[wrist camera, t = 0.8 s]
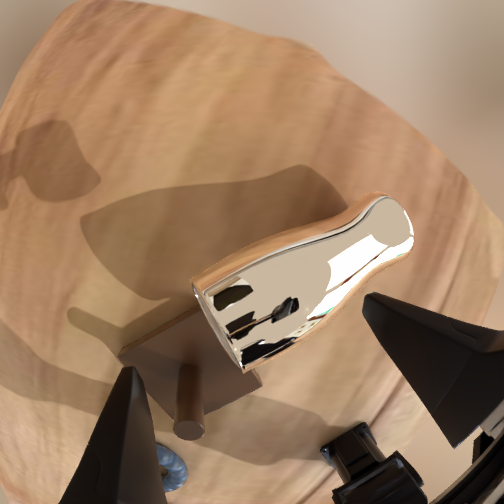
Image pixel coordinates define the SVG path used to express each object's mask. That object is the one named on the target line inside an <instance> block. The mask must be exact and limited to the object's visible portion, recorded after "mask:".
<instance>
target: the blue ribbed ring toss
mask: <svg viewBox="0 0 504 504" xmlns="http://www.w3.org/2000/svg"><path fill="white" fill-rule="evenodd" d="M156 448H157V454H158V460H159V464H160V465H162V466H163V467H164V468H166V469H167V470H168V474H167V475H166V476H162V482H163V487H164V491H165V492H169V491H173V490H177V489H178V488H179V487H181V486H182V485H183V484H185V482H186V480H187V476H188V469H187V467H186V465H185V463H184V461H183V460H182V459H181V458H180V457H179V456H178V455H176V454H175V453H174V452H173V451H171V450H170V449H167V448H165V447H163V446H161V445H159V444H156Z"/></svg>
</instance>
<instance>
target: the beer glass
mask: <svg viewBox="0 0 504 504" xmlns="http://www.w3.org/2000/svg"><path fill="white" fill-rule="evenodd" d="M413 244H414V232H413V227H412V224H411V221H410V218H409V216H408V215H407V213H406V211H405V210H404V208H403V207H402V206H401V205H400V204H399V203H398V202H397V201H396V200H395V199H394V198H392V197H391V196H389V195H387V194H385V193H382V192H369V193H367V194H365V195H363V196H362V197H361V198H359V199H358V200H357V201H356V202H355V203H354V204H352V205H351V206H350V207H349V208H348V209H346V210H345V211H343V212H341V213H340V214H337V215H335V216H333V217H330V218H327V219H324V220H320V221H317V222H313V223H309V224H306V225H302V226H299V227H295V228H292V229H288V230H285V231H282V232H279V233H276V234H273V235H270V236H268V237H265V238H263V239H261V240H259V241H256V242H254V243H252V244H250V245H248V246H246V247H244V248H242V249H240V250H238V251H236V252H234V253H233V254H231V255H229V256H227V257H226V258H224V259H222V260H221V261H219V262H217V263H216V264H214V265H212V266H211V267H209V268H208V269H206V270H204V271H203V272H201V273H199V274H198V275H196V276H194V277H192V278H190V284H191V287H192V289H193V292H194V294H195V296H196V299H197V301H198V303H199V305H200V307H201V309H202V311H203V313H204V315H205V317H206V319H207V321H208V322H209V324H210V326H211V328H212V330H213V331H214V333H215V335H216V337H217V338H218V340H219V342H220V343H221V345H222V347H223V348H224V350H225V351H226V353H227V355H228V356H229V358H230V359H231V361H232V362H233V363H234V365H235V366H236V368H237V369H238V370H239V371H240V372H241V373H242V374H245V373H246V372H247V371H249V370H251V369H253V368H255V367H257V366H260V365H262V364H264V363H266V362H268V361H270V360H272V359H274V358H276V357H278V356H280V355H282V354H283V353H285V352H287V351H289V350H291V349H292V348H294V347H296V346H297V345H299V344H301V343H302V342H304V341H305V340H307V339H308V338H309V337H311V336H312V335H314V334H315V333H316V332H318V331H319V330H320V329H322V328H323V327H324V326H325V325H326V324H327V323H328V322H330V321H331V320H332V319H333V318H334V317H335V316H336V315H337V314H338V313H339V312H340V311H341V310H342V309H343V308H344V307H345V306H346V305H347V304H348V303H349V302H350V301H351V300H352V299H353V298H354V296H355V295H356V294H357V293H358V292H359V291H360V290H361V289H362V288H363V287H364V286H365V285H366V284H367V283H368V282H369V281H370V280H371V279H372V278H373V277H374V276H376V275H377V274H378V273H380V272H381V271H383V270H385V269H387V268H389V267H391V266H394V265H396V264H398V263H400V262H402V261H403V260H405V259H406V258H407V257H408V256H409V254H410V253H411V251H412V248H413Z"/></svg>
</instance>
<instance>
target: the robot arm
mask: <svg viewBox="0 0 504 504" xmlns="http://www.w3.org/2000/svg"><path fill="white" fill-rule="evenodd" d="M362 313H363V316H364V318H365V319H366V321H367V323H368V324H369V326H370V328H371V329H372V331H373V333H374V334H375V336H376V338H377V339H378V341H379V342H380V344H381V345H382V347H383V348H384V350H385V351H386V352H387V354H388V355H389V356H390V358H391V359H392V360H393V362H394V363H395V364H396V366H397V367H398V369H399V370H400V371H401V373H402V374H403V376H404V377H405V378H406V380H407V381H408V383H409V384H410V385H411V387H412V388H413V390H414V391H415V392H416V394H417V395H418V397H419V398H420V400H421V401H422V402H423V404H424V405H425V407H426V408H427V410H428V411H429V413H430V414H431V416H432V417H433V419H434V420H435V422H436V423H437V424H438V426H439V427H440V429H441V431H442V432H443V434H444V435H445V437H446V438H447V440H448V441H449V443H450V444H451V446H452V447H453V448H454V449H455V448H456V447H457V446H458V445H460V444H461V443H462V442H463V441H464V440H465V439H466V438H467V437H468V436H469V435H470V434H472V433H473V432H474V431H475V430H476V429H477V428H478V427H479V426H480V427H481V428H482V430H483V431H482V433H481V434H480V435H479V436H478V437H477V438H476V439H475V440H474V446H473V459H472V465H471V466H470V467H469V468H468V469H467V471H465V472H464V474H463V475H461V476H460V477H459V478H458V479H457V480H456V481H455V482H454V483H453V484H452V485H451V486H450V487H448V488H447V489H446V490H445V491H444V492H443V493H442V494H440V495H439V496H438V497H437V498H436V499H434V500H433V501H432V502H431V503H429V504H504V330H503V331H498V330H493V329H489V328H485V327H481V326H477V325H473V324H470V323H466V322H463V321H460V320H456V319H453V318H451V317H447V316H445V315H442V314H439V313H436V312H433V311H430V310H427V309H424V308H421V307H418V306H415V305H412V304H409V303H406V302H403V301H400V300H397V299H395V298H392V297H389V296H386V295H383V294H380V293H377V292H371V293H369V294H367V295H365V297H364V303H363V308H362ZM320 452H321V453H322V455H323V456H324V457H325V458H326V459H327V461H328V462H329V463H330V464H331V465H332V466H333V468H334V469H336V470H337V472H338V474H339V475H340V477H341V479H342V481H343V483H344V485H342V486H341V487H339V488H337V489H336V488H335V489H334V490H332V492H333V496H332V499H333V501H334V503H335V504H428V501H427V500H428V499H427V496H426V495H425V494H424V492H423V491H422V489H421V488H420V487H422V486H423V485H424V482H423V480H422V479H421V477H420V475H419V474H418V473H417V471H416V470H415V469H414V468H413V467H412V466H411V465H410V464H409V463H408V461H407V460H406V459H405V458H404V457H403V456H402V455H401V454H400V453H399V452H398V451H397V450H396V451H395V452H394V453H393V454H392V455H390V456H389V457H388V458H386V457H385V456H384V455H383V453H382V452H381V451H380V449H379V448H378V447H377V443H376V441H375V439H374V437H373V435H372V433H371V431H370V429H369V427H368V425H367V423H366V422H363V423H361V424H360V425H358V426H357V427H355V428H354V429H352V430H350V431H349V432H347V433H346V434H344V435H342V436H341V437H339V438H337V439H336V440H334V441H332V442H330V443H329V444H327V445H325V446H323V447H322V448H320ZM58 504H167V500H166V496H165V491H164V487H163V482H162V477H161V472H160V466H159V460H158V454H157V448H156V442H155V435H154V427H153V421H152V417H151V413H150V409H149V404H148V400H147V395H146V391H145V386H144V382H143V380H142V378H141V376H140V374H139V373H138V371H137V369H136V368H135V366H133V365H131V366H126V367H123V368H122V370H121V372H120V374H119V376H118V378H117V380H116V382H115V384H114V386H113V388H112V390H111V393H110V395H109V397H108V399H107V401H106V403H105V406H104V408H103V410H102V412H101V415H100V417H99V419H98V421H97V424H96V426H95V428H94V431H93V433H92V435H91V438H90V440H89V442H88V445H87V447H86V449H85V452H84V454H83V457H82V459H81V461H80V463H79V466H78V468H77V470H76V472H75V474H74V476H73V477H72V479H71V481H70V483H69V485H68V487H67V489H66V491H65V493H64V495H63V496H62V498H61V500H60V502H59V503H58Z"/></svg>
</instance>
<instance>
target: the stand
mask: <svg viewBox="0 0 504 504" xmlns="http://www.w3.org/2000/svg"><path fill="white" fill-rule="evenodd" d="M118 358H119V359H120V360H121V361H122V363H123V364H124V365H125V366H131V365H133V366H135V368H136V369H137V371H138V373H139V374H140V376H141V378H142V380H143V382H144V386H145V390H146V391H147V392H148V393H149V394H150V395H151V397H152V398H153V399H154V400H155V401H156V402H157V403H158V404H159V405H160V406H161V407H162V408H163V409H164V410H165V411H166V412H167V413H168V415H169V416H170V417H171V418H172V419H173V420H174V425H173V431H174V433H175V434H176V435H177V436H178V437H179V438H181V439H184V440H189V441H192V440H197V439H199V438H201V437H202V436H203V435H204V432H205V428H204V415H206V414H208V413H210V412H213V411H215V410H217V409H219V408H221V407H223V406H225V405H227V404H229V403H231V402H233V401H235V400H237V399H239V398H241V397H243V396H245V395H247V394H249V393H251V392H253V391H255V390H257V389H259V388H261V387H262V386H263V384H262V382H261V379H260V377H259V375H258V374H257V373H256V371H255V370H254V368H253V369H251V370H249V371H247V372H246V373H245V374H242V373H241V372H240V371H239V370H238V369H237V368H236V366H235V365H234V363H233V362H232V361H231V359H230V358H229V356H228V355H227V353H226V351H225V350H224V348H223V347H222V345H221V343H220V342H219V340H218V338H217V337H216V335H215V333H214V331H213V330H212V328H211V326H210V324H209V322H208V321H207V319H206V317H205V315H204V313H203V311H202V309H201V307H200V305H198V306H196V307H194V308H192V309H191V310H189V311H187V312H185V313H184V314H182V315H180V316H178V317H177V318H175V319H173V320H171V321H170V322H168V323H166V324H164V325H163V326H161V327H159V328H157V329H156V330H154V331H152V332H150V333H149V334H147V335H145V336H143V337H142V338H140V339H138V340H136V341H134V342H133V343H131V344H129V345H127V346H126V347H124V348H122V349H121V351H120V353H119V355H118Z"/></svg>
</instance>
